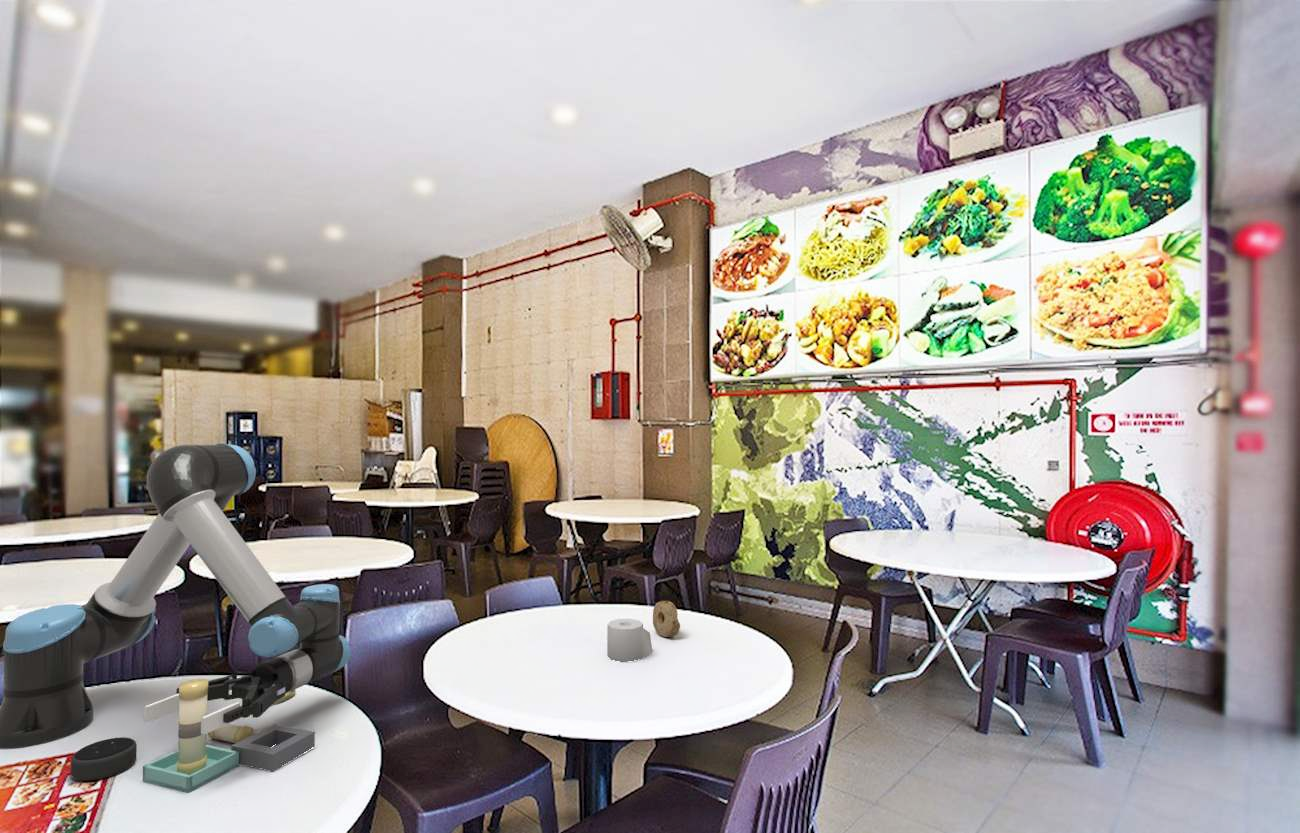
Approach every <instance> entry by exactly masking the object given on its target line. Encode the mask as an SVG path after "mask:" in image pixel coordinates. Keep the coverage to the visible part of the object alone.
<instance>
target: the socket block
mask: <svg viewBox="0 0 1300 833" xmlns="http://www.w3.org/2000/svg"><path fill="white" fill-rule="evenodd" d="M315 735H316V732H315V731H314V730H313V731H312V730H307V729H301V728H296V727H292V726H287V725H281V724H276V723H273V724H272V725H270V726H268V727H266V728H263V729H261V730H260V731H258V732H256V733H254V735H252V736H250V737H248V738H246V739H244V740H241V741H239V742H237V743H232V745H231V746H230V747H231V748H230V750H233V751H237V752H239V765H242V766H245V765H246V767H250V766H253V767H252V768H254V767H257V768H256V769H258V768H262V769H261V770H263V769H266V770H265V771H267V770H270V771H269V772H272V771H274V770H275V771H277V770H279V769H280V767H281V766H282V765H284V764H286V763H287V764H289V763H290V762H289V761H291V760H293V759H294V758H296V757H298V756H299V755H301V754H303V753H304V752H306V751H308V750H309V749H311V748H312V747H314V746H316V745H315V743H316V742H315V740H316V739H315V738H316V737H315ZM275 744H276V746H274V747H272V746H273V745H275ZM271 747H272V748H271ZM308 752H309V751H308ZM303 755H304V754H303ZM301 756H302V755H301ZM298 758H299V757H298ZM296 759H297V758H296ZM294 760H295V759H294ZM294 760H293V761H294ZM288 762H289V763H288ZM291 762H292V761H291ZM287 764H286V765H287ZM284 766H285V765H284ZM282 767H283V766H282ZM282 767H281V768H282ZM278 768H279V769H278ZM276 769H277V770H276ZM275 771H274V772H275Z"/></svg>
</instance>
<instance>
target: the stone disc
mask: <svg viewBox="0 0 1300 833" xmlns="http://www.w3.org/2000/svg"><path fill="white" fill-rule="evenodd" d="M678 617H679V616H678V610H677V607H676V606H675V604H674V603H673V602H671V601H670V600H660V601H658V602H656V603H655V605H654V607H653V613H652V624H653V625H652V626H653V629H654V630H655V632H656V633H657V635H659V636H660V637H663V638H669V637H671V638H672V637H675V636H676V635H677V634H678V633H679V631H680V629H681V624H680V622H679V619H678Z"/></svg>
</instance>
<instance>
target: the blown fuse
mask: <svg viewBox="0 0 1300 833" xmlns="http://www.w3.org/2000/svg"><path fill="white" fill-rule="evenodd" d="M208 681H209V679H206V678H195V679H189V680H186V681H183V682H181V683H180V684H179V686H178V688H179V699H180V700H179V710H178V729H177V730H178V732H177V734H178V735H177V737H178V744H177V745H178V746H177V747H178V748H177V750H178V761H177V772H179V773H183V774H188V775H191V774H193V773H195V772H197V771H199V770H201V769H203V768H205V767H206V762H207V754H206V745H207V734H204V735H203V734H201V718H202V717H204V716H206V715H208V701H207V693H208Z"/></svg>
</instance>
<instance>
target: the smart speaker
mask: <svg viewBox="0 0 1300 833" xmlns="http://www.w3.org/2000/svg"><path fill="white" fill-rule="evenodd" d="M137 745H138V744H137V741H136V740H134V739H133V738H131V737H125V736H123V737H114V738H111V737H110V738H106V739H102V740H98V741H96V742H93V743H90V744H87V745H85V746H84V747H82V748H80V749H79V750H77V751H76V752H75V753H74V754H73V756H72V757H71V760H70V775H71V777H72V778H73V779H75V781H76V780H77V781H80V782H81V781H82V782H87V781H88V782H89V781H97V780H102V779H105V778H106V779H107V778H109V777H112V776H114V775H117V774H120V773H122V772H123V771H126V770H127V769H128V768H130V767H131V766H132V765H133V764H134V763H135V761H137V755H138V754H137V751H138V749H137V748H138V746H137Z"/></svg>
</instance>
